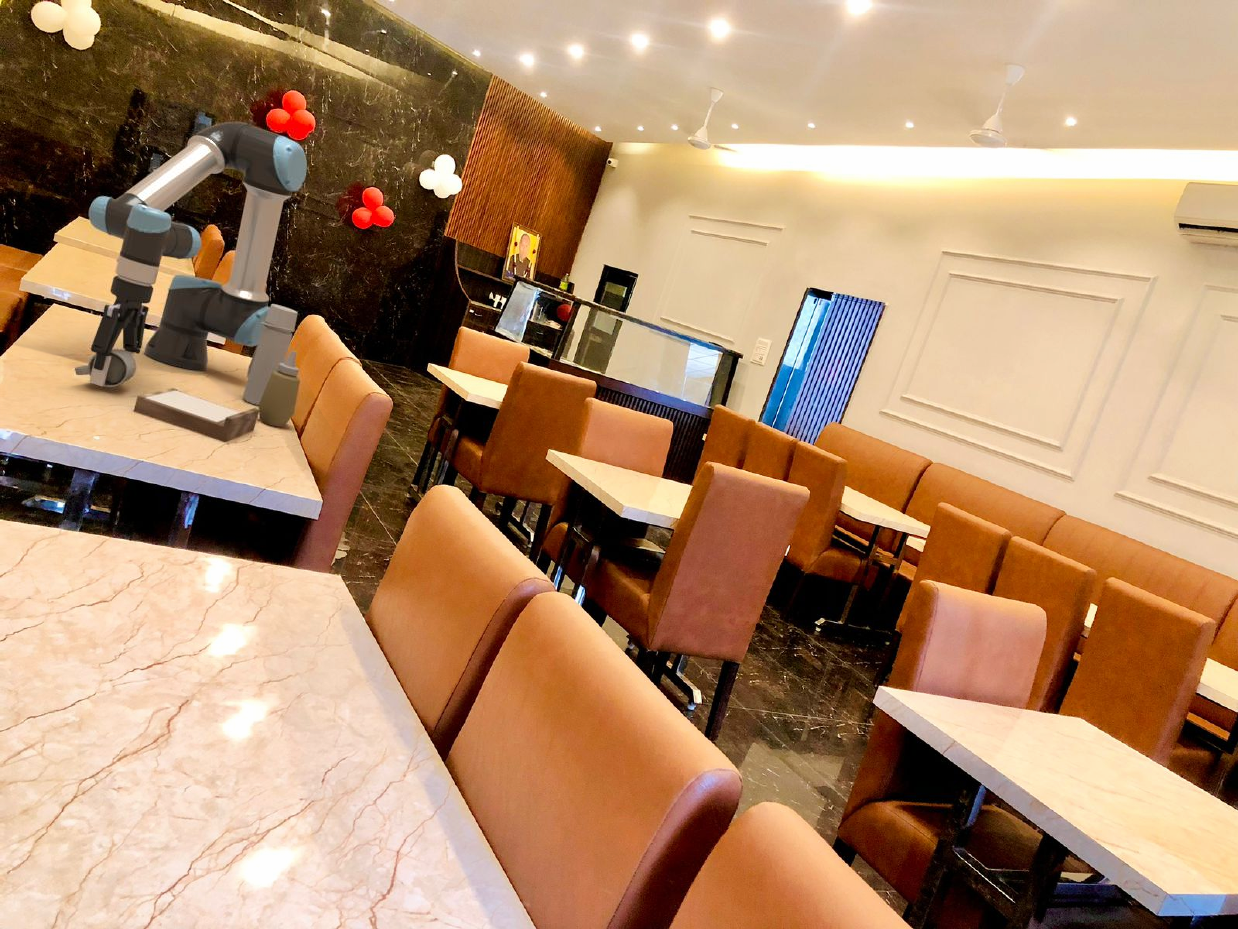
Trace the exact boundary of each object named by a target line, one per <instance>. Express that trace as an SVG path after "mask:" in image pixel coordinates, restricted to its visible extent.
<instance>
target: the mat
mask: <svg viewBox="0 0 1238 929" xmlns="http://www.w3.org/2000/svg"><path fill="white" fill-rule="evenodd" d="M179 391H180V390H178V391H176V390H175V391H171V392H167V393H162V394H158V395H153V396H149V397H145V399H148V400H151V401H154V402H157V403H160V404H162V405H165V406H168V407H171V408H174V409H177V410H180V411H183V412H186V413H189V414H192V415H195V416H198V417H201V418H204V419H207V420H209V421H212V422H215V423H218V422H221V421H224V420H225V419H226V417H229V416H232V415H235V414H238V413H240V412H241V411H238V412H237V410H236V409H235V410H234V409H232V408H230V407H226V406H224V405H221V404H218V405H217V403H215V404H214V402H212V401H209V402H208V400H206V399H203V400H202V398H200V397H197V396H195V395H191V394H189V393H186V392H183V391H180V392H179ZM182 392H183V393H182ZM185 393H186V394H185ZM188 394H189V395H188ZM199 398H200V399H199ZM205 400H206V401H205ZM211 402H212V403H211ZM220 405H221V406H220ZM223 406H224V407H223Z"/></svg>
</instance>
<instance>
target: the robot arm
mask: <svg viewBox="0 0 1238 929" xmlns="http://www.w3.org/2000/svg"><path fill="white" fill-rule="evenodd" d="M307 164H308V162H307V157H306V154H305V151H304V149H303V147H302V146H301V145H300V143H298V142H296V141H294V140H292V139H289V138H288V137H286V136H284V135H282V134H281V135H280V134H278V133H275V132H272V131H268V130H266V129H263V128H260V127H257V126H255V125H252V124H250V123H247V122H244V121H226V122H221V123H218V124H214V125H211V126H209V127H206V128H204V129H202V130H200V131H198V132H197V133H195V134H194V135H193V136H192V137H190V138H189V139H188V141H187V146H186V147H185V148H183V149H182V150H181V151H179V152H178V153H177V154H175V155H174V156H173V157H171V158H170V159H169V160H167V161H166V162H164V163H163V164H162V165H161V166H159V167H158V168H156V169H155V170H154V171H153V172H150V173H149V174H148V175H146V177H144V178H143V179H142V180H140V181H139V182H137V183H136V184H135V185H134V186H132V187H131V188H130V189H128V190H126V192H124V193H123V194H122V195H120V196H119V197H117V198H116V199H114V198H113V197H112V196H110V197H109V196H104V195H101V196H98V197H96V198H95V199H93V201H92V203H90V204H91V205H90V207H89V209H88V218H89V222H90V224H91V225H92V227H93V228H95V229H97V230H99V231H101V232H102V233H104V234H107V235H109V236H113V237H116V238H119V239H121V240H122V243H121V244H122V245H121V249H120V252H119V255H118V257H117V258H116V262H117V263H116V268H115V271H114V272H115V274H116V275H114V277H113V278H112V282H111V287H110V293H111V294H112V295H113V296H114V297H115V298H116V299H115V300H114V303H113V305H110V304H105V305H104V307H103V312H102V313H103V314H102V317H101V319H100V323H99V325H98V327H97V330H96V333H95V336H94V338H93V341H92V345H91V346H90V351H91V352H92V353H94V354H96V357H95V361H94V365H93V369H92V372H91V376H90V375H89V376H90V378H89V381H88V383H91V384H94V385H97V386H100V387H104V384H105V380H106V376H107V372H108V368H109V364H110V360H111V356H109V354H110V352H111V351H112V349H114V346H115V345H116V342H117V341H118V338H119V336H120V334H121V333H122V348H121V349H119V350H123V351H125V352H127V353H129V354H130V355H131V356H132V357H133V358H134V357H135V354H137V355H138V354H140V353H141V349H142V347H143V340H144V334H145V326H146V320H147V316H148V312H149V310H150V307H149V306H146V305H144V304H149V303H150V302H151V300H152V297H153V296H152V295H153V292H154V287H153V285H155V284H156V283H157V277H158V273H159V269H160V264H161V261H162V257H167V258H173V259H176V260H183V259H184V260H188V259H189V260H190V259H192V258H194V257H196V256H197V255H198V254H199V252H200V251H201V248H202V238H201V236H200V233H199V232H198V231H197V229H195V228H194V227H192V226H190V225H188V224H185V223H183V222H182V223H181V222H180V223H179V222H176V221H173V220H172V216H171V214H169V213H168V212H165V210H167V209H168V208H170V207H171V206H172V205H173V204H174V203H176V202H177V201H178V200H180V199H181V198H182V197H183V196H185V195H186V194H187V193H188V192H189V191H191V190H192V189H194V187H196V186H197V185H198V184H199V183H201V182H203V181H204V180H205V179H206V178H207V177H209V176H210V175H211V174H214V175H215V174H216V175H217V174H219V173H222V172H223V171H224V170H225V169H231V170H236V171H237V172H239V173H243V179H242V184H243V185H244V187H245V189H246V191H247V192H246V195H245V196H246V197H245V201H244V206H243V212H242V216H241V222H240V227H239V231H238V236H237V242H236V247H235V252H234V257H233V262H232V268H231V270H230V276H229V280H228V282H227V283H225V284H223V285H222V283H221V282H218V281H216V280H215V281H214V280H212V279H207V278H202V277H197V276H191V275H185V274H176V275H174V277H173V278H172V280H171V281H170V282H171V283H170V284H169V288H168V289H167V290H168V292H167V296H166V300H165V303H164V307H163V311H162V315H161V319H160V321H159V322H160V323H159V324H158V325H159V326H158V327H157V329H156V331H155V332H154V333H153V335H151V337H150V338H149V340H148V342H147V343H146V344H145V348H144V354H145V355H146V356H147V355H148V357H149V356H150V357H149V358H151V359H154V360H155V361H158V362H160V363H164V364H166V363H167V365H171V366H174V367H177V366H178V367H177V368H181V367H182V368H181V369H188V370H192V371H193V370H195V371H206V369H207V366H208V361H209V357H208V341H207V340H208V335H209V333H210V334H213V335H216V336H218V337H221V338H224V339H226V340H228V341H231V342H234V344H238V345H243V346H246V347H254V346H255V347H256V346H257V345H258V342H259V340H260V337H261V333H262V330H263V326H264V324H261V322H265V319H266V317H267V314H268V312H269V309H270V307H271V306H268V305H269V302H270V297H269V295H268V294H267V293H266V284H267V280H268V276H269V275H268V274H269V271H270V266H271V262H272V257H273V252H274V247H275V243H276V238H277V233H278V229H279V228H278V227H279V224H280V219H281V215H282V210H283V205H284V202H285V201H286V200H288V199H290V198H291V197H292V194H293V192H297V191H298V190H300V189H302V187H303V183H304V182H305V180H306V177H307V169H308V166H307Z"/></svg>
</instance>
